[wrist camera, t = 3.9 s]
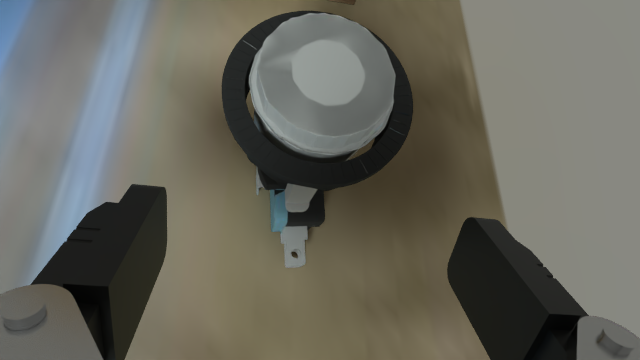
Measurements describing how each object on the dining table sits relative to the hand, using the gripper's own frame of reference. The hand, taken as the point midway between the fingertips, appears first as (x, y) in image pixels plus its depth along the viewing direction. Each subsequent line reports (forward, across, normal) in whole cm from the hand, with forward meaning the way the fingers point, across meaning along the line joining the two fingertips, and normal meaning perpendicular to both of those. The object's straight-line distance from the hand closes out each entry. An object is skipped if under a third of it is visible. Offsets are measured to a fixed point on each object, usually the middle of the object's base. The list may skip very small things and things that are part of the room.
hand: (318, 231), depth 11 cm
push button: (+8, 0, +4) cm, 9 cm away
